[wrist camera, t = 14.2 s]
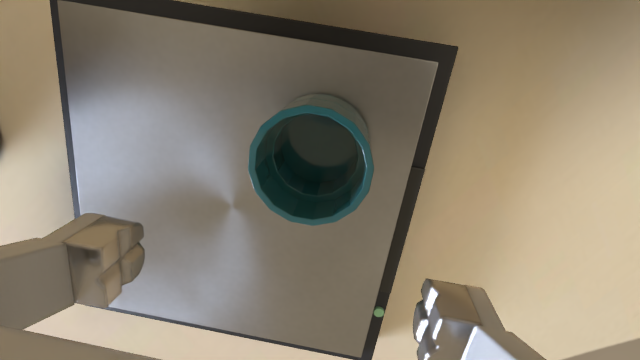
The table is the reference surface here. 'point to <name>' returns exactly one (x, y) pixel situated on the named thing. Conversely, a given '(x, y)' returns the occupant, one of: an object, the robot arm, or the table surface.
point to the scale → (241, 162)
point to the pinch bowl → (312, 160)
